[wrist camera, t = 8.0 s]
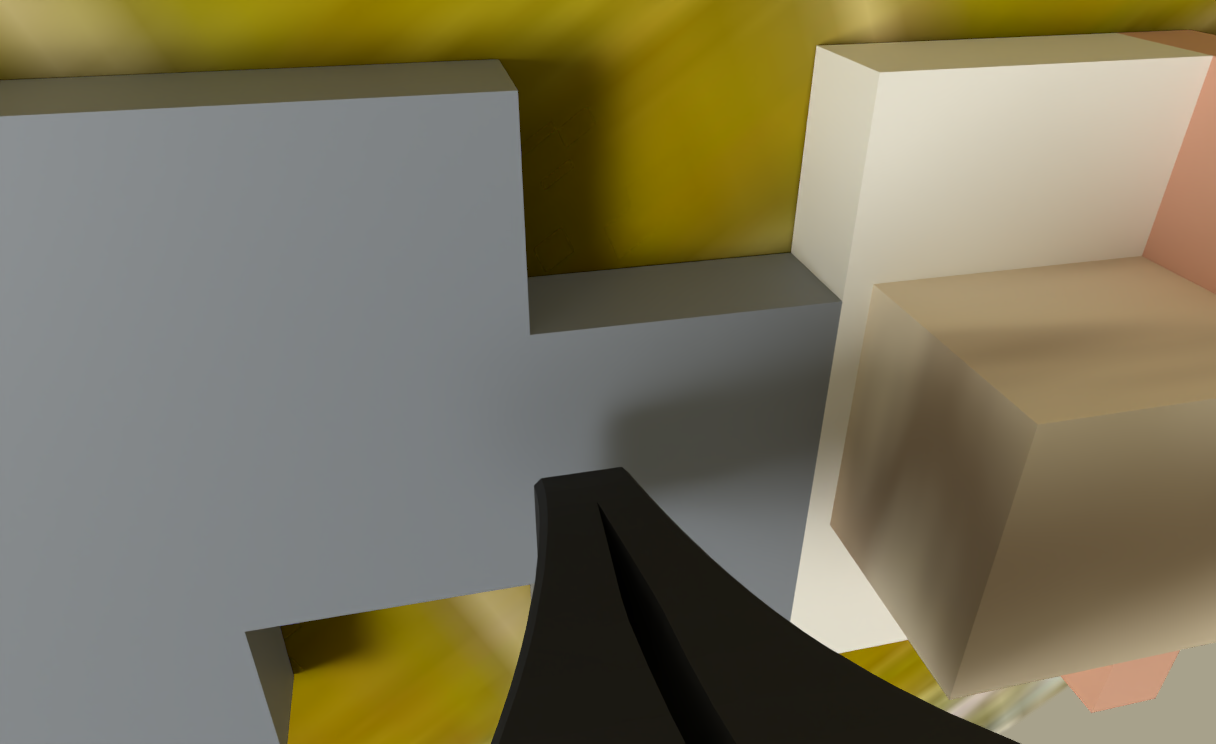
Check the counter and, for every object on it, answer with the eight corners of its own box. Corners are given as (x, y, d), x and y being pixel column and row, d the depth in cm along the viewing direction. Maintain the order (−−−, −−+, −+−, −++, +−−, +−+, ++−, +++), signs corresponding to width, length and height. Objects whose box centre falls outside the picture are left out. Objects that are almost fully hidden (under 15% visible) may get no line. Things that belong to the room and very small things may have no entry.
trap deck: (1015, 548, 21) (1155, 698, 17) (-32, 734, 16) (-153, 994, 13) (1190, 29, 15) (1469, 88, 11) (-420, 98, 10) (-885, 238, 6)
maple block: (1059, 487, 17) (1226, 640, 14) (829, 524, 16) (948, 700, 13) (1141, 255, 14) (1372, 375, 11) (873, 283, 13) (1037, 424, 10)
